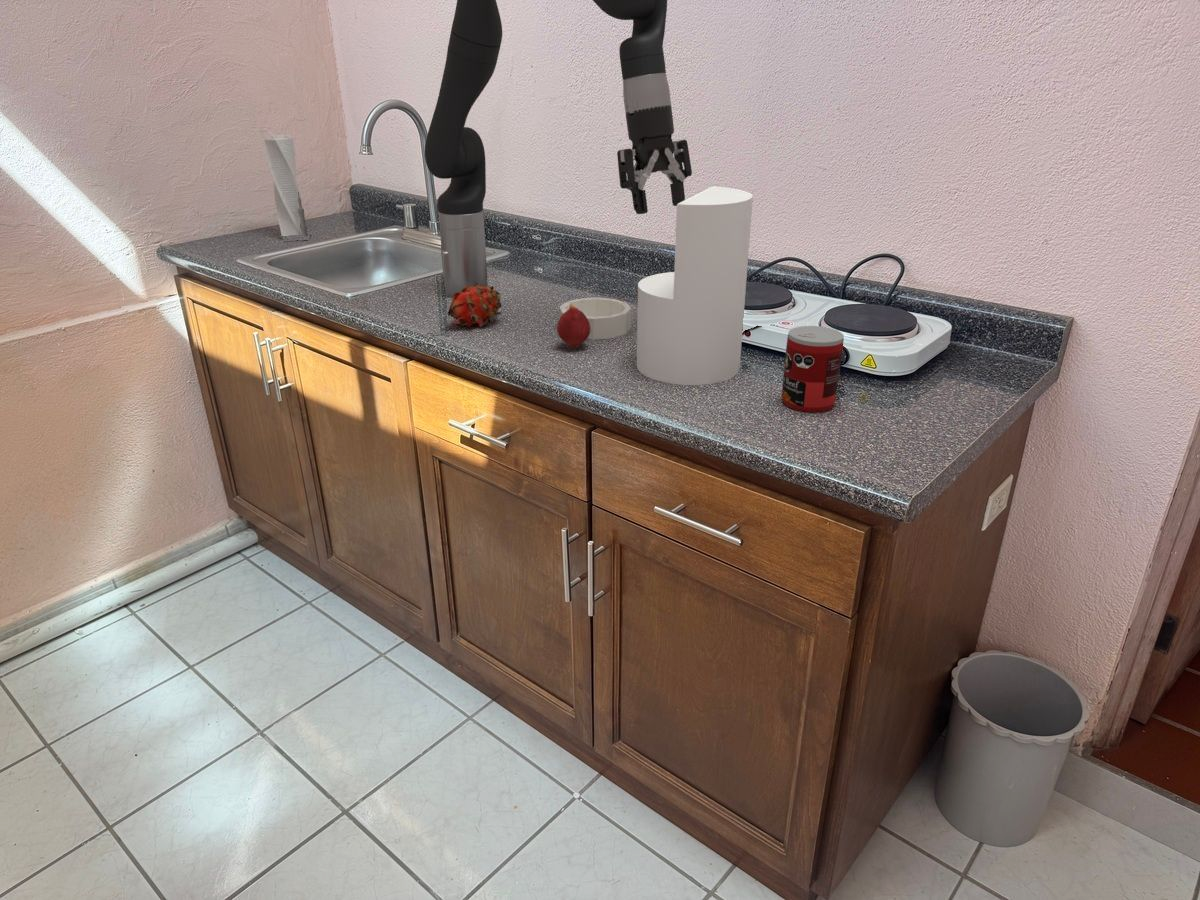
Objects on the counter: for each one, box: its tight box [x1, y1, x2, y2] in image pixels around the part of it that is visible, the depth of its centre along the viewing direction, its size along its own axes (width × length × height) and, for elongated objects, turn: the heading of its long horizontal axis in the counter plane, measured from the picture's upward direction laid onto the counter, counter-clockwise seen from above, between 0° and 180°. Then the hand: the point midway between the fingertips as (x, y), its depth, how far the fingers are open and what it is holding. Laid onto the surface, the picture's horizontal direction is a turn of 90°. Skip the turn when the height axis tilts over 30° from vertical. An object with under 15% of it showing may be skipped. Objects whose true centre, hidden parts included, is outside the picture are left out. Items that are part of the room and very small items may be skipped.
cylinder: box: [636, 185, 754, 386], centre depth 135 cm, size 17×17×28 cm
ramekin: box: [559, 297, 632, 341], centre depth 159 cm, size 13×13×4 cm
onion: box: [556, 304, 590, 349], centre depth 148 cm, size 6×6×8 cm
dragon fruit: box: [447, 283, 503, 328], centre depth 160 cm, size 8×8×12 cm
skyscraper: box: [259, 128, 309, 237], centre depth 224 cm, size 8×8×28 cm
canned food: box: [781, 325, 845, 413], centre depth 125 cm, size 8×8×11 cm
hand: (660, 209), depth 142 cm, fingers open, 8 cm apart
